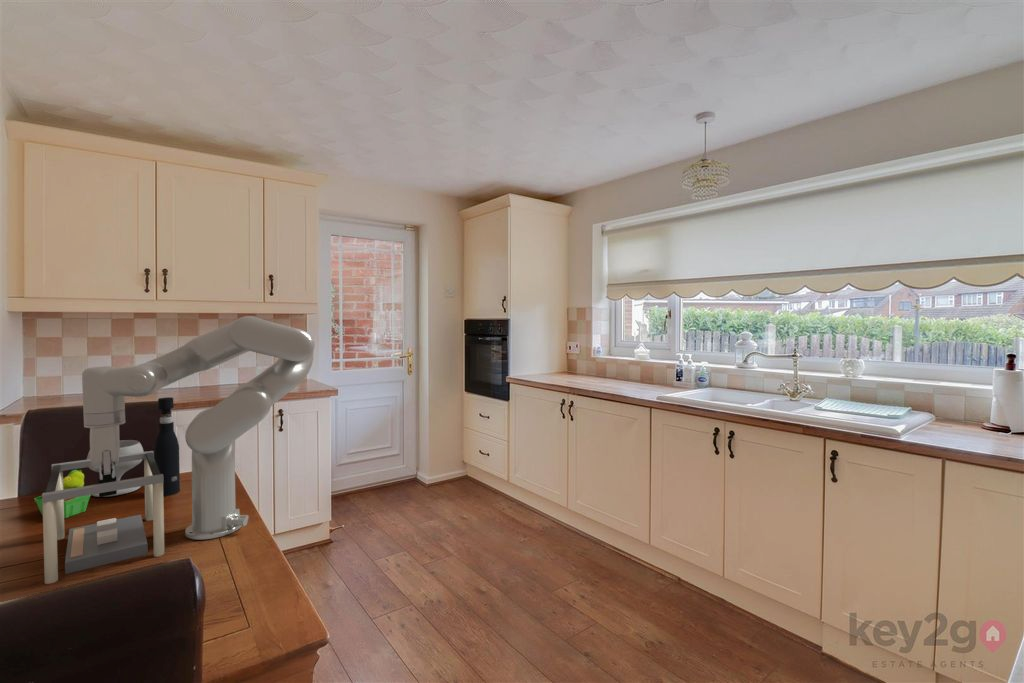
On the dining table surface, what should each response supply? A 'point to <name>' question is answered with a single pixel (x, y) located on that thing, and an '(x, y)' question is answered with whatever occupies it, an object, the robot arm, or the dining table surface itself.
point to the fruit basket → (71, 504)
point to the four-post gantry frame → (84, 538)
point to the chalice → (124, 463)
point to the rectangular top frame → (104, 487)
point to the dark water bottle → (167, 449)
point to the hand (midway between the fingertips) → (108, 494)
